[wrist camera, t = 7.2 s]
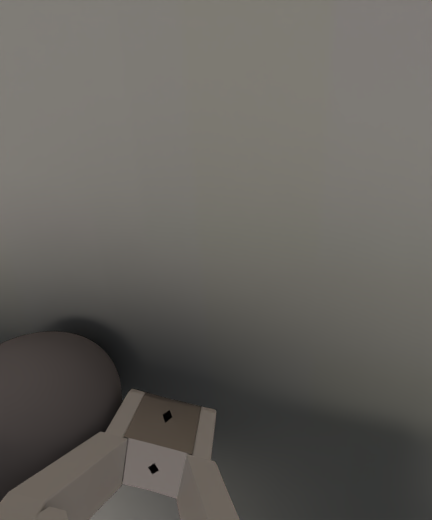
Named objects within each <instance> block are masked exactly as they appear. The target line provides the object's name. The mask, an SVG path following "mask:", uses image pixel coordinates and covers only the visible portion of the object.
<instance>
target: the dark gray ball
mask: <svg viewBox="0 0 432 520" xmlns="http://www.w3.org/2000/svg"><path fill="white" fill-rule="evenodd" d="M121 402H122V390H121V383H120V378H119V375H118V372H117V369H116V367H115V365H114V363H113V361H112V360H111V358H110V357H109V355H108V354H107V353H106V352H105V351H104V350H103V349H102V348H101V347H100V346H98V345H97V344H96V343H94V342H92V341H91V340H89V339H87V338H85V337H82V336H80V335H76V334H72V333H68V332H59V331H46V332H37V333H32V334H27V335H22V336H19V337H16V338H13V339H11V340H8V341H6V342H4V343H1V344H0V502H1V501H2V499H3V498H4V497H5V496H6V494H7V493H8V492H9V491H11V490H12V489H14V488H15V487H17V486H18V485H20V484H21V483H23V482H24V481H26V480H27V479H29V478H30V477H32V476H33V475H35V474H36V473H38V472H39V471H41V470H43V469H44V468H46V467H47V466H49V465H50V464H52V463H53V462H55V461H56V460H58V459H59V458H61V457H62V456H64V455H65V454H67V453H68V452H70V451H71V450H73V449H74V448H76V447H78V446H79V445H81V444H82V443H84V442H85V441H87V440H88V439H90V438H91V437H93V436H94V435H96V434H97V433H99V432H106V430H107V428H108V426H109V425H110V423H111V421H112V419H113V418H114V416H115V414H116V413H117V411H118V409H119V407H120V406H121Z"/></svg>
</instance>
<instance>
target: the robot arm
mask: <svg viewBox="0 0 432 520" xmlns="http://www.w3.org/2000/svg"><path fill="white" fill-rule="evenodd" d="M215 421H216V410H214V409H210V408H206V407H201V406H199V405H194V404H190V403H186V402H182V401H178V400H172V399H168V398H165V397H161V396H158V395H154V394H151V393H147V392H143V391H139V390H136V389H131V390H130V391H129V392H128V393H127V395H126V397H125V399H124V400H123V402H122V404H121V406H120V407H119V409H118V411H117V413H116V414H115V416H114V418H113V419H112V421H111V423H110V425H109V426H108V428H107V430H106V432H99V433H97V434H96V435H94V436H93V437H91V438H90V439H88V440H87V441H85V442H84V443H82V444H81V445H79V446H78V447H76V448H74V449H73V450H71V451H70V452H68V453H67V454H65V455H64V456H62V457H61V458H59V459H58V460H56V461H55V462H53V463H52V464H50V465H49V466H47V467H46V468H44V469H43V470H41V471H39V472H38V473H36V474H35V475H33V476H32V477H30V478H29V479H27V480H26V481H24V482H23V483H21V484H20V485H18V486H17V487H15V488H14V489H12V490H11V491H9V492H8V493H7V494H6V496H5V497H4V498H3V499H2V501H1V502H0V520H89V519H90V518H91V517H92V516H93V515H94V514H95V513H96V512H97V511H98V510H99V509H100V507H101V506H102V505H103V504H104V503H105V502H106V501H107V500H108V499H109V498H110V497H111V496H112V495H113V494H114V493H115V492H116V491H117V490H118V489H119V488H120V487H121V484H124V485H128V486H133V487H137V488H141V489H146V490H150V491H153V492H156V493H159V494H163V495H166V496H169V497H172V498H176V499H177V500H176V501H177V506H178V511H179V516H180V520H239V517H238V515H237V512H236V510H235V507H234V505H233V503H232V500H231V498H230V495H229V493H228V490H227V488H226V486H225V483H224V481H223V478H222V476H221V474H220V471H219V469H218V466H217V464H216V462H215V461H211V455H212V447H213V438H214V429H215Z"/></svg>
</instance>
